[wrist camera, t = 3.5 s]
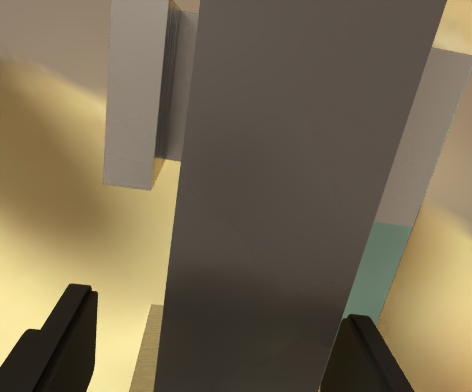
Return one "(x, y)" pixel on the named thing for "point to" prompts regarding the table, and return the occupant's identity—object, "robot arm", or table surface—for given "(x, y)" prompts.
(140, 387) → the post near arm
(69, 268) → the table surface
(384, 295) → the mat
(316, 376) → the rail
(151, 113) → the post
